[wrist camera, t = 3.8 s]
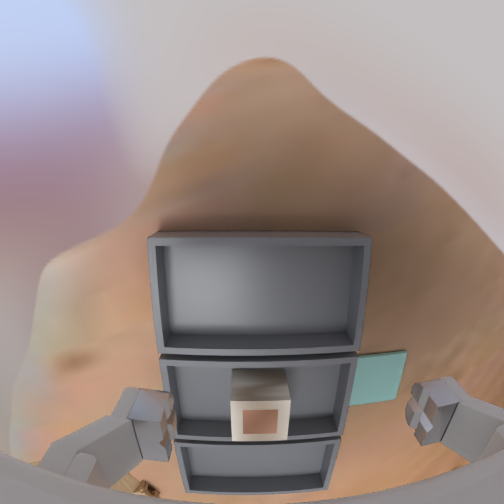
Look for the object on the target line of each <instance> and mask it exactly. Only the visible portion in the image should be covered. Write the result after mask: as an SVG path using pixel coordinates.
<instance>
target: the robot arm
mask: <svg viewBox="0 0 504 504" xmlns="http://www.w3.org/2000/svg"><path fill="white" fill-rule="evenodd" d="M411 394H412V396H413V397H412V398H411V399H410V400H409V401H408V403H407V406H406V409H405V417H406V420H407V423H408V425H409V426H410V427H412V428H414V429H415V433H414V435H415V437H416V438H417V440H418V442H419V443H420V445H421V446H424V445H428V444H432V443H436V442H440V441H441V443H442V444H444V445H445V446H447V447H448V448H450V449H452V450H453V451H455V452H456V453H458V454H459V455H461V456H462V457H464V458H466V459H467V460H469V461H470V462H472V463H471V464H468V465H466V466H463V467H460V468H458V469H455V470H452V471H449V472H446V473H443V474H440V475H437V476H434V477H431V478H428V479H425V480H421V481H418V482H414V483H411V484H407V485H403V486H399V487H395V488H391V489H386V490H382V491H377V492H372V493H367V494H362V495H357V496H351V497H344V498H338V499H330V500H322V501H313V502H302V503H288V504H504V409H503V408H501V407H498V406H495V405H493V404H490V403H487V402H485V401H482V400H479V399H477V398H474V399H472V398H471V397H470V395H469V394H468V393H467V392H466V391H465V390H464V389H463V388H462V387H461V386H460V384H459V383H458V382H457V381H456V380H455V379H454V378H453V377H451V376H447V377H442V378H438V379H435V380H430V381H424V382H418V383H415V384H414V386H413V388H412V391H411ZM173 404H174V398H173V394H172V392H167V391H159V390H150V389H143V388H142V389H141V388H134V387H127V388H125V390H124V392H123V393H122V395H121V397H120V399H119V401H118V403H117V405H116V407H115V409H114V411H113V413H112V414H111V416H105V417H103V418H101V419H99V420H97V421H95V422H93V423H91V424H89V425H87V426H85V427H83V428H81V429H79V430H78V431H76V432H74V433H71V434H69V435H67V436H65V437H63V438H61V439H59V440H57V441H55V442H53V443H52V444H51V445H50V447H49V449H48V450H47V452H46V453H45V455H44V457H43V458H42V460H41V461H40V463H39V465H38V466H35V465H32V464H29V463H27V462H25V461H22V460H20V459H17V458H15V457H13V456H10V455H8V454H6V453H4V452H2V451H0V504H212V503H198V502H187V501H178V500H170V499H162V498H156V497H149V496H144V495H138V494H133V493H128V492H123V491H118V490H114V489H110V487H111V486H113V485H114V484H115V483H116V482H118V481H119V480H120V479H121V478H123V477H124V476H125V475H126V474H127V473H129V472H130V471H131V470H132V469H133V468H135V467H136V466H137V465H138V464H139V463H140V462H142V461H143V459H146V460H154V461H163V462H169V459H170V455H171V451H172V444H171V440H173V439H174V438H175V434H176V426H177V420H176V412H175V411H174V410H173V409H172V407H173Z"/></svg>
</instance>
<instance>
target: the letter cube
mask: <svg viewBox="0 0 504 504" xmlns="http://www.w3.org/2000/svg"><path fill="white" fill-rule="evenodd" d="M290 404H291V398H290V393H289V388H288V383H287V378H286V374H285V369H232V380H231V397H230V406H231V429H232V441H275V440H287V436H288V426H289V415H290Z"/></svg>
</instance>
